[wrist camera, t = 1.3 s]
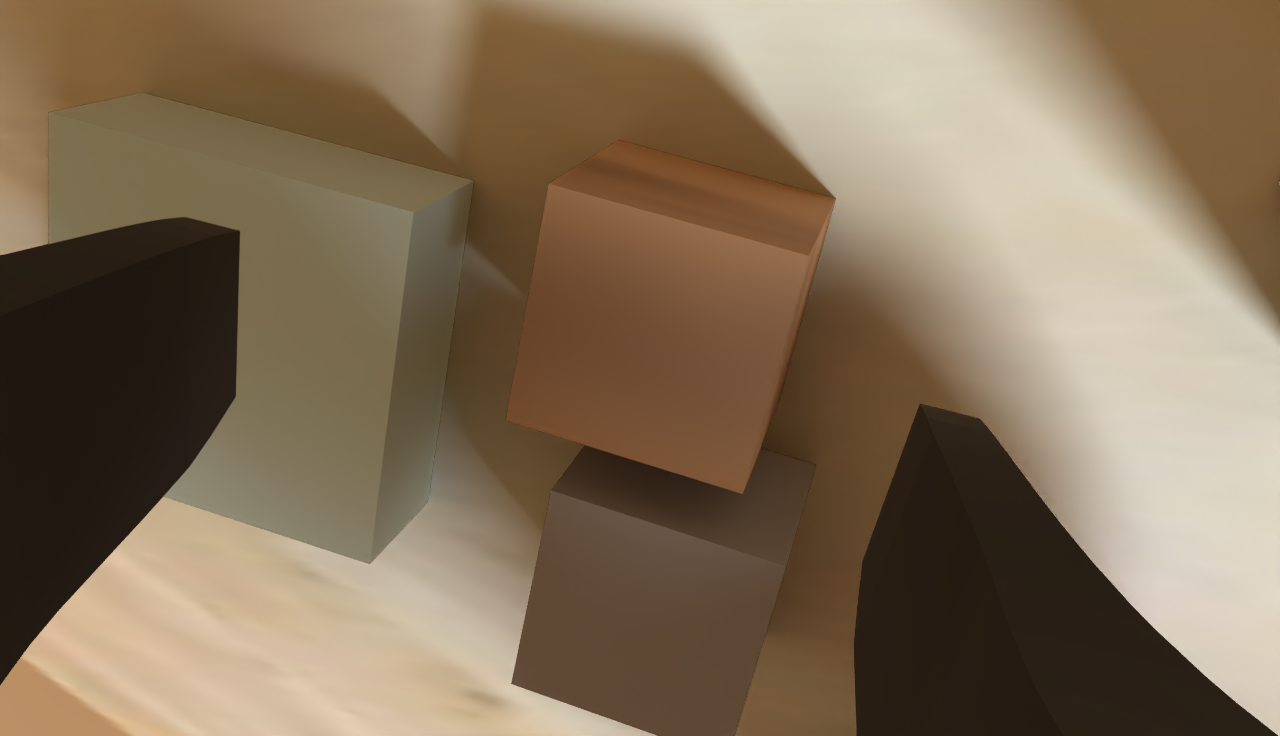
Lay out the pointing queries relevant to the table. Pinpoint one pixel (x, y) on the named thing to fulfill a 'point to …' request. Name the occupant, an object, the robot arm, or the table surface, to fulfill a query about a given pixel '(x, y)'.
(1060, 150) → the table surface
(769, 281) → the walnut cube
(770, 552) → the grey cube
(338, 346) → the base block
